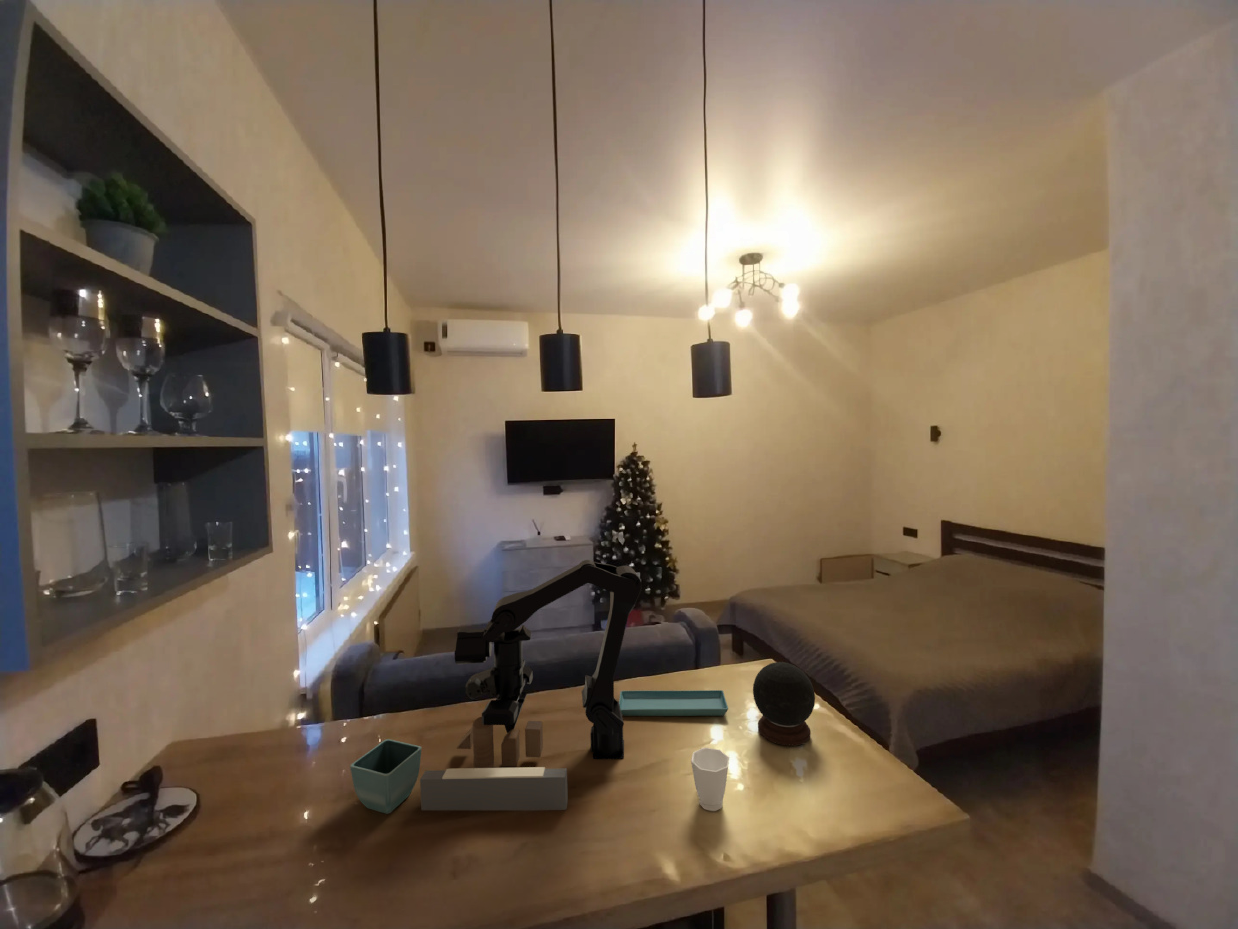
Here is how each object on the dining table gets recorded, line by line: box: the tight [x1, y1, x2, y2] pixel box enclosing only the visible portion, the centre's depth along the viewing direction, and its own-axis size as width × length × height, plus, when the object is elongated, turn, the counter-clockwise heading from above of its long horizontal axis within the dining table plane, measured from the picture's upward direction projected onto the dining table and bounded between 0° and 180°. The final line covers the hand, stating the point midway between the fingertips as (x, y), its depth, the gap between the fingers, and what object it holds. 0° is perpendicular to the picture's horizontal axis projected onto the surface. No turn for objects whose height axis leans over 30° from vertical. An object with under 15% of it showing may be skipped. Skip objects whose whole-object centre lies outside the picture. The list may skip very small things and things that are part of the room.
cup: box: [690, 747, 730, 812], centre depth 91 cm, size 7×10×8 cm
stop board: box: [419, 766, 569, 811], centre depth 90 cm, size 26×2×6 cm, turn 89°
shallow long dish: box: [618, 689, 729, 717], centre depth 123 cm, size 26×9×2 cm, turn 86°
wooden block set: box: [456, 716, 544, 768], centre depth 102 cm, size 18×9×10 cm, turn 88°
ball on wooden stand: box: [752, 661, 816, 747], centre depth 111 cm, size 13×13×15 cm
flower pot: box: [349, 738, 423, 815], centre depth 92 cm, size 9×9×9 cm
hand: (510, 733), depth 104 cm, fingers closed
